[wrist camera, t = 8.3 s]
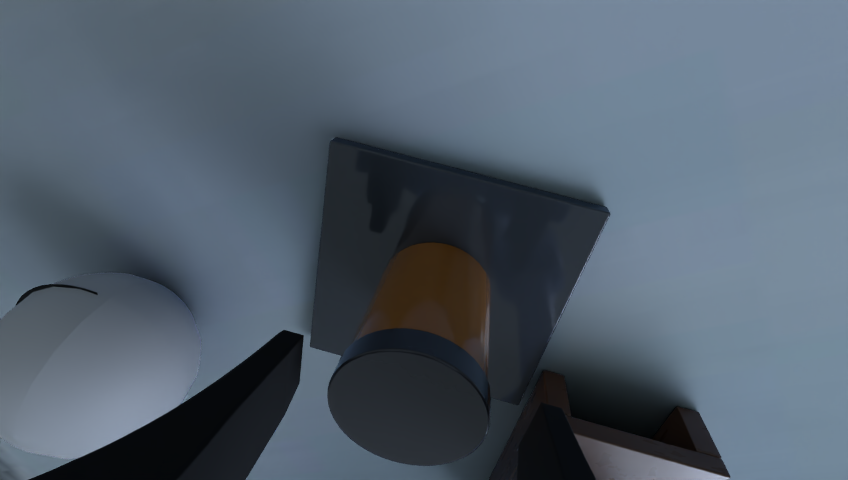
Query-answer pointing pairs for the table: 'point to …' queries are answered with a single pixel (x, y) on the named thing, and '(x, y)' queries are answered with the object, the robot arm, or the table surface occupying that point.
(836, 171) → the table surface
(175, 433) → the robot arm
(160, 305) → the white ovoid
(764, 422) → the table surface
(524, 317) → the slate pad
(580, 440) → the shelf
